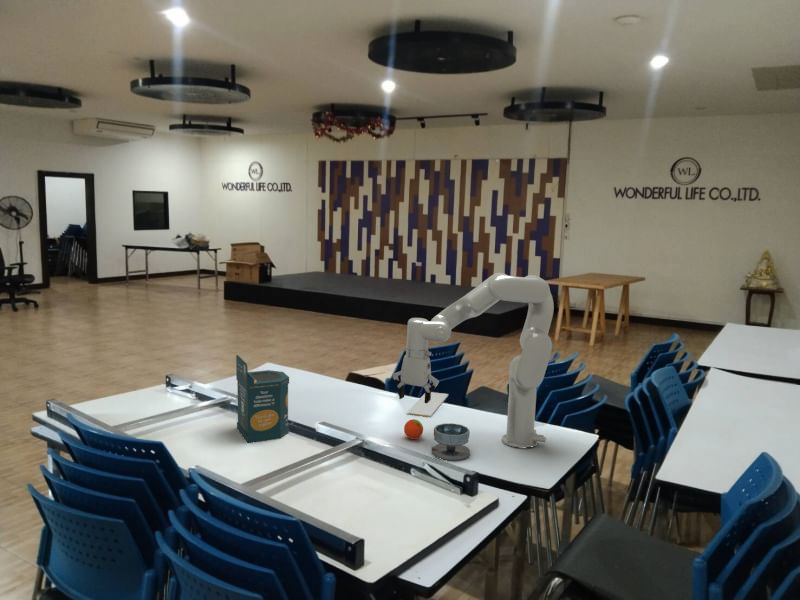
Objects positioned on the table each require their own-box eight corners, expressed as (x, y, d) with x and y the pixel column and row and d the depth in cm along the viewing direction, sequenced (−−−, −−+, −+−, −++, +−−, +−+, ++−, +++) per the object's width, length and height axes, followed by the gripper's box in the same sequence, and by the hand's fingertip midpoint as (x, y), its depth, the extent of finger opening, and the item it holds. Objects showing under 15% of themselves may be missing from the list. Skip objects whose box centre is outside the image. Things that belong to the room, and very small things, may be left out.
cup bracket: (474, 450, 211) (475, 426, 210) (463, 464, 199) (464, 439, 198) (438, 443, 216) (439, 420, 215) (426, 456, 204) (426, 432, 203)
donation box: (236, 428, 225) (236, 354, 221) (279, 422, 233) (279, 350, 229) (247, 443, 211) (246, 364, 207) (292, 436, 219) (292, 360, 215)
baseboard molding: (401, 415, 246) (430, 419, 243) (401, 408, 246) (430, 412, 242) (422, 394, 276) (448, 397, 272) (422, 387, 275) (448, 391, 272)
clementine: (429, 439, 220) (429, 420, 219) (416, 444, 215) (417, 424, 214) (412, 433, 225) (412, 414, 224) (399, 438, 220) (400, 419, 219)
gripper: (443, 354, 216) (440, 401, 218) (398, 348, 222) (396, 393, 225) (436, 358, 209) (433, 407, 211) (390, 352, 215) (387, 399, 218)
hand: (414, 400), depth 218 cm, fingers open, 9 cm apart
